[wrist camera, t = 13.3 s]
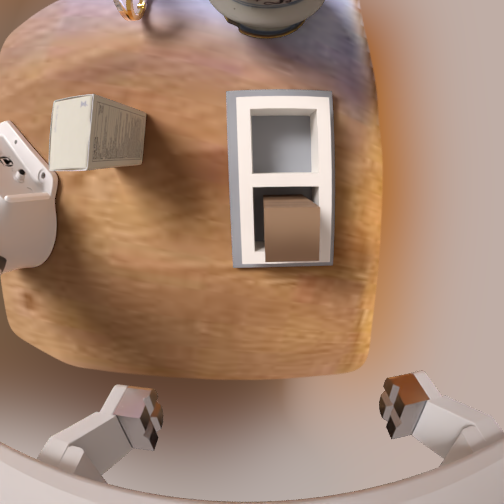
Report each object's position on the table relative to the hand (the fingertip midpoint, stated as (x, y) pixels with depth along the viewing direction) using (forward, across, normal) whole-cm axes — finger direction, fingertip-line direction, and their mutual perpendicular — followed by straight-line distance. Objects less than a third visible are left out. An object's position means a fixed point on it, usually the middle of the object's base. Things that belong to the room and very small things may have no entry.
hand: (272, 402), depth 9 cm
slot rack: (+25, -2, -6) cm, 25 cm away
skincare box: (+25, +14, -12) cm, 31 cm away
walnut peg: (+24, -2, -2) cm, 24 cm away
